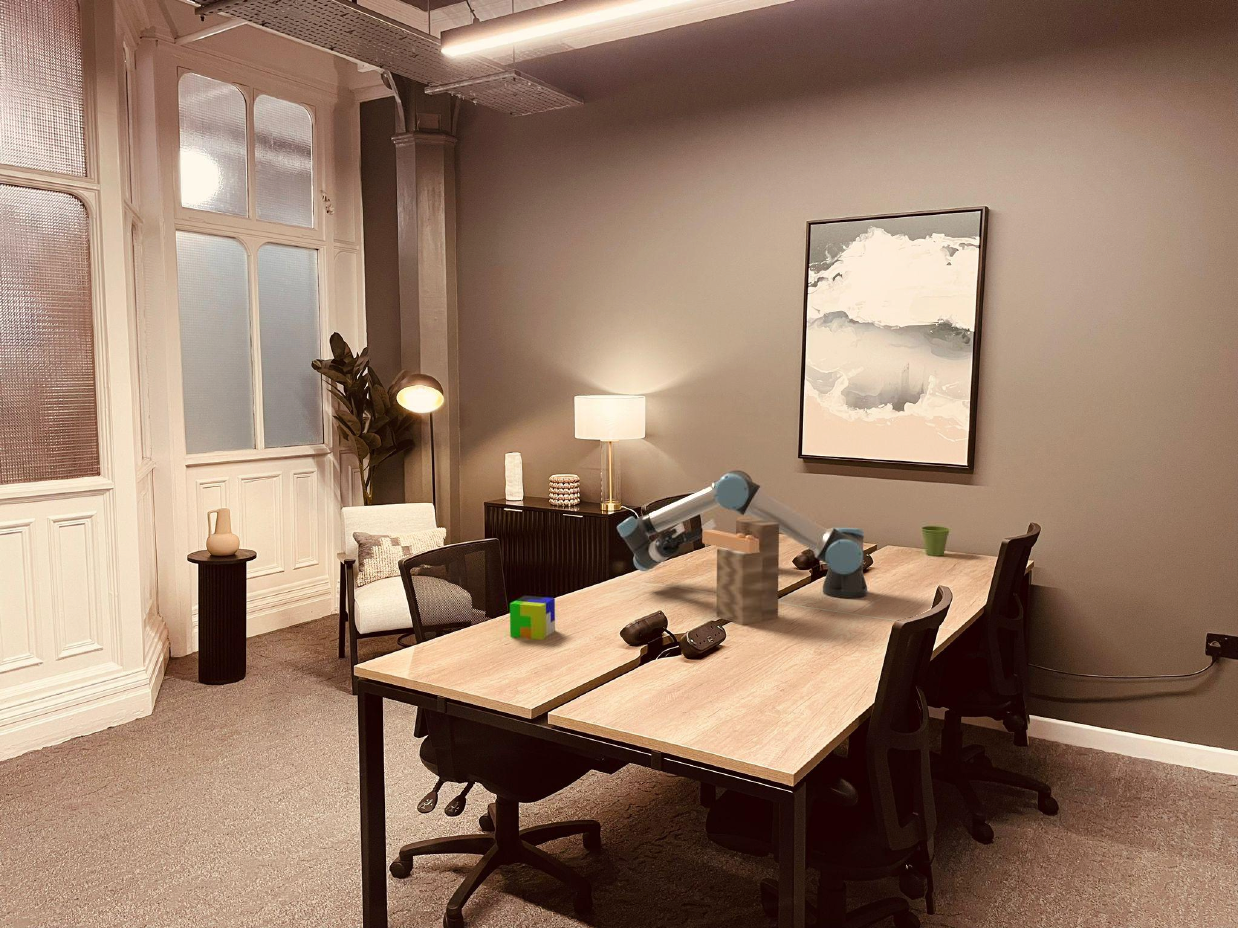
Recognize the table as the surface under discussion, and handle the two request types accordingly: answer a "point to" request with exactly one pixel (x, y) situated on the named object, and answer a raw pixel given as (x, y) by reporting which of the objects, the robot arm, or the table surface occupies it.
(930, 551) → the plant pot
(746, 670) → the table surface
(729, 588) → the step stand
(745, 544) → the orange beam
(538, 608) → the puzzle toy
